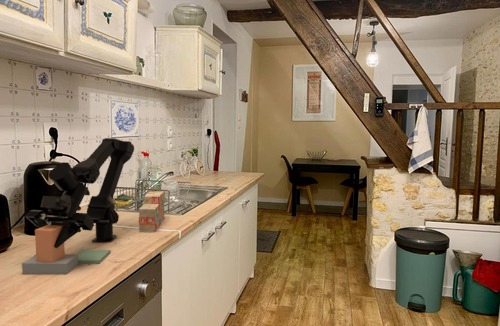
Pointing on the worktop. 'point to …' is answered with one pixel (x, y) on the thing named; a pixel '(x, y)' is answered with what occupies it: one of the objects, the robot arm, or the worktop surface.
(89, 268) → the worktop surface
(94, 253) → the green mat
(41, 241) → the terracotta block
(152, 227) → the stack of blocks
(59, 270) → the slate block
